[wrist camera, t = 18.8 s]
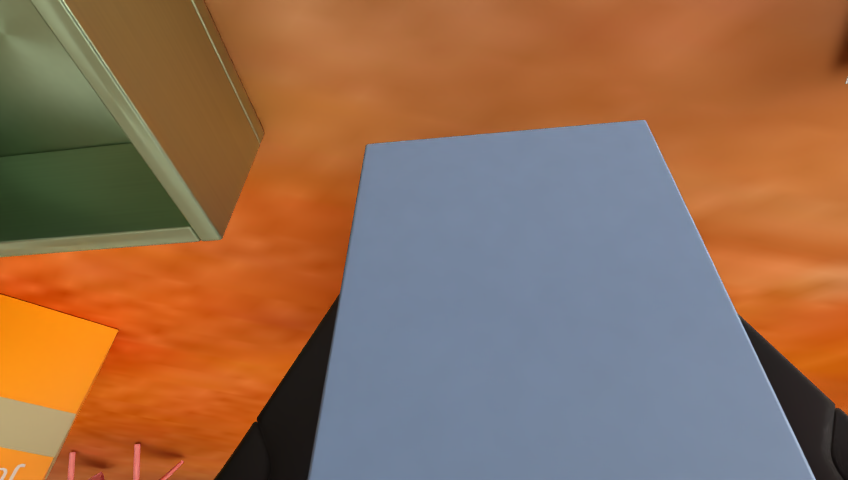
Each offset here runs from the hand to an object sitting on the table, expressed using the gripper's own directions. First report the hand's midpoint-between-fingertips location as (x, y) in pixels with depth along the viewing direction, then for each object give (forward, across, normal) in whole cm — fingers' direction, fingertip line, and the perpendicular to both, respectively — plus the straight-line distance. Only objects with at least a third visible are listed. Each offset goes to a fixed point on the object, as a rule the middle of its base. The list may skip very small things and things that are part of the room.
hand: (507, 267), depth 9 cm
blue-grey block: (+1, 0, 0) cm, 1 cm away
